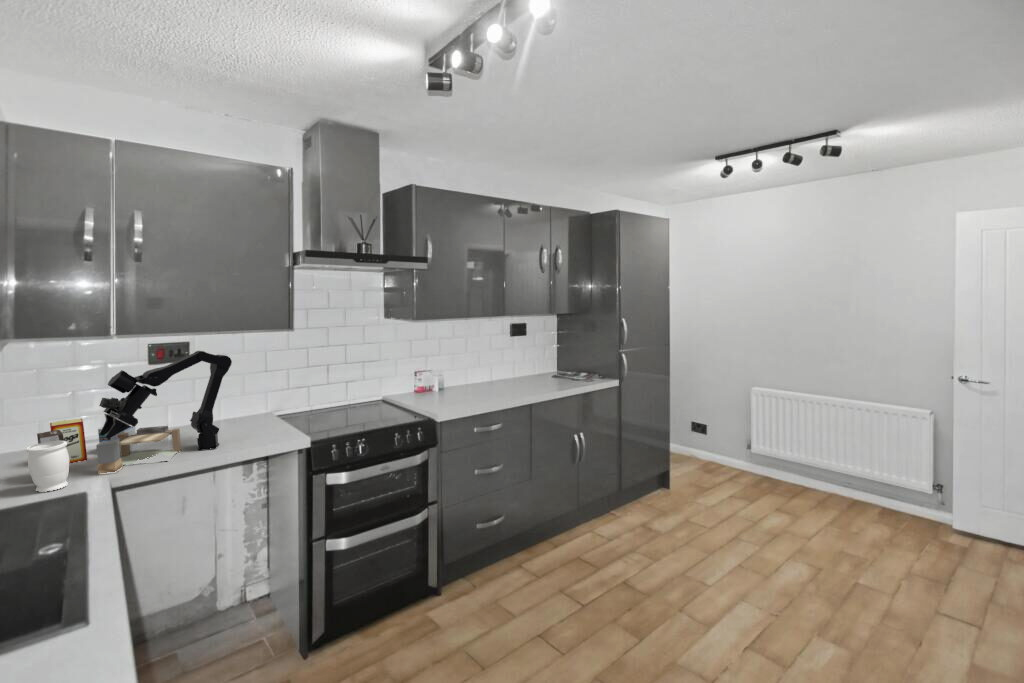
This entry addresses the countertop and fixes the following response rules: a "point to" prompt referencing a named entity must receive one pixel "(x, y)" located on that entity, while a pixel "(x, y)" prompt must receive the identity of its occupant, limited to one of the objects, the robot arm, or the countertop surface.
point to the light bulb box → (117, 437)
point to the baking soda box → (72, 438)
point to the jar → (49, 465)
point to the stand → (133, 457)
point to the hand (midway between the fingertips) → (103, 436)
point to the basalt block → (108, 451)
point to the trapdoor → (147, 435)
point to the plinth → (109, 466)
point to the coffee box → (50, 436)
